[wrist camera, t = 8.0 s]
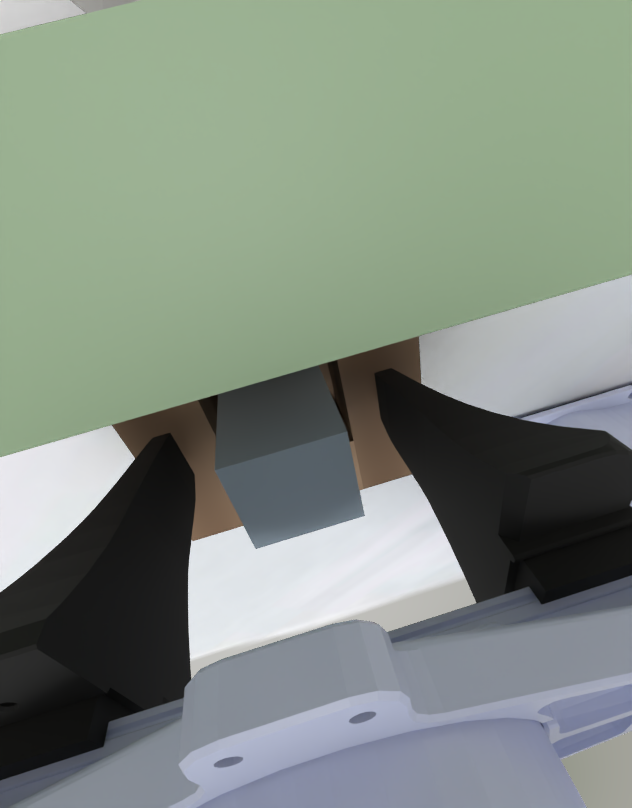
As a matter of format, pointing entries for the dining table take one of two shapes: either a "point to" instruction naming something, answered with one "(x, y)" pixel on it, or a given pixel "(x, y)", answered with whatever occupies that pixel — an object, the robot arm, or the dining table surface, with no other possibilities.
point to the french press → (99, 4)
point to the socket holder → (291, 202)
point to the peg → (285, 457)
